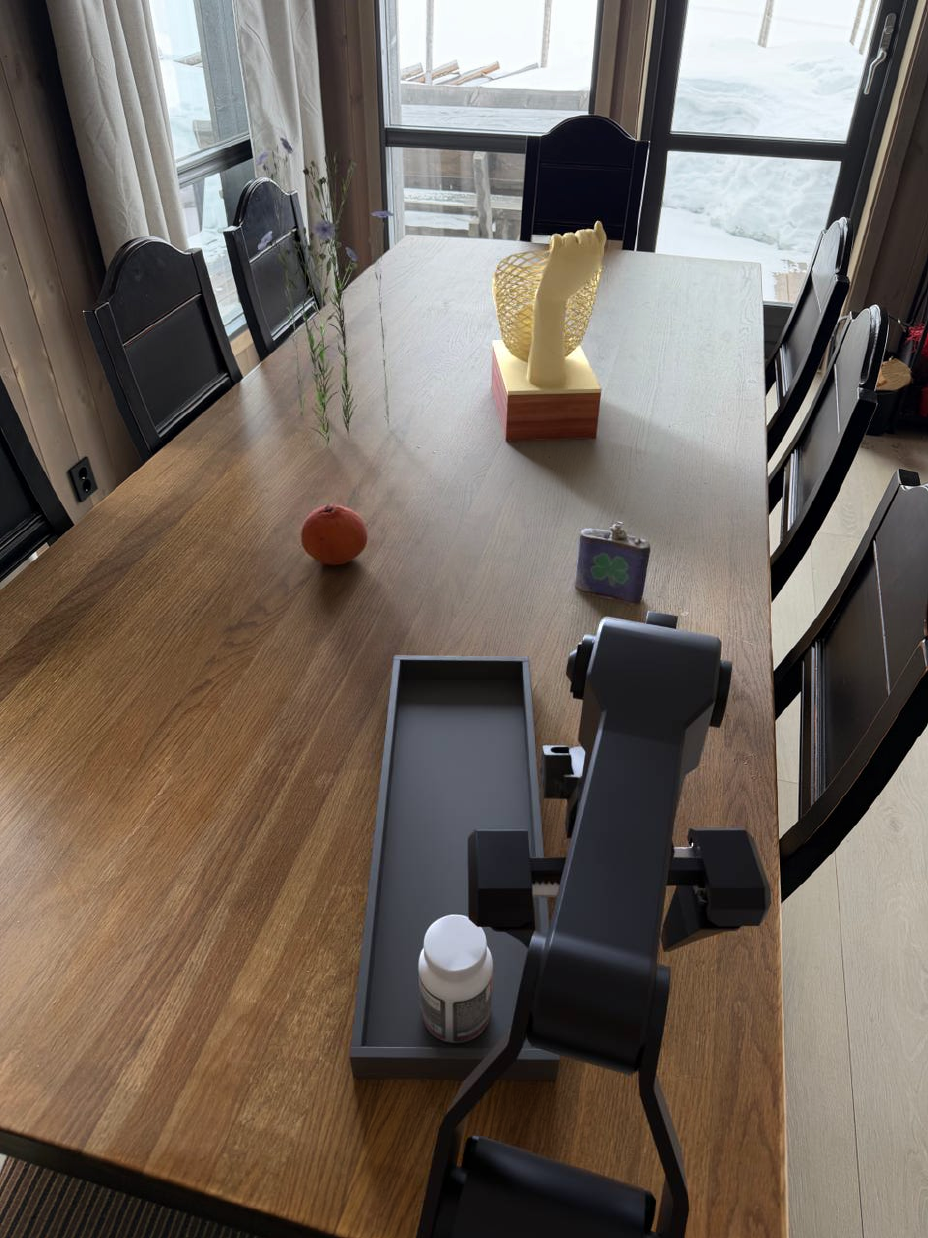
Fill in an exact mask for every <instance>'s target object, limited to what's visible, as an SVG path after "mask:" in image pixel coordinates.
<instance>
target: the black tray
mask: <svg viewBox="0 0 928 1238" xmlns="http://www.w3.org/2000/svg"><path fill="white" fill-rule="evenodd" d="M392 661H393V662H392V668H391V670H392V671H391V680H390V686H389V687H390V688H389V697H388V705H387V716H386V725H385V733H384V741H383V742H384V743H383V752H382V761H381V769H380V777H379V787H378V796H377V804H376V805H377V806H376V813H375V824H374V832H373V841H372V852H371V860H370V869H369V878H368V887H367V894H366V895H367V896H366V905H365V913H364V923H363V933H362V941H361V950H360V958H359V959H360V960H359V967H358V968H359V969H358V975H357V976H358V978H357V987H356V996H355V997H356V998H355V1004H354V1005H355V1006H354V1011H353V1012H354V1013H353V1014H354V1015H353V1021H352V1030H351V1031H352V1032H351V1040H350V1050H349V1062H350V1069H351V1075H352V1076H351V1077H352V1079H355V1080H358V1079H359V1080H360V1079H363V1080H365V1079H366V1080H429V1081H430V1080H433V1081H434V1080H435V1081H437V1080H438V1081H439V1080H440V1081H441V1080H443V1081H452V1080H453V1081H465V1080H466V1078H467V1077H468V1076H469V1075H470V1074H471V1073H472V1072H473V1071H474V1069H475V1068H476V1067H477V1066H478V1065H479V1064H480V1063H481V1061H482V1060H483V1059H484V1058H485V1057H486V1056H487V1055H488V1054H489V1052H490V1051H491V1050H492V1049H493V1048H494V1047H495V1046H496V1045H497V1043H498V1042H499V1041H500V1040H501V1039H502V1038H503V1037H504V1036H505V1034H506V1033H507V1032H508V1031H509V1030H510V1029H511V1027H512V1022H513V1017H514V1012H515V1007H516V1002H517V997H518V992H519V987H520V983H521V978H522V973H523V969H524V965H525V961H526V957H527V953H528V948H527V947H526V946H525V945H524V944H523V943H522V942H521V941H519V940H518V939H516V938H514V937H513V936H511V935H509V934H508V933H506V932H496V931H493V930H492V929H491V928H490V927H481V928H482V929H483V931H484V933H485V936H486V941H487V947H488V948H489V950H490V953H491V956H492V960H493V983H492V1009H491V1015H490V1019H489V1022H488V1024H487V1025H486V1027H485V1029H484V1030H483V1031H482V1032H481V1033H480V1034H479V1035H478V1036H476V1037H475V1038H473V1039H471V1040H469V1041H466V1042H462V1043H450V1042H446V1041H443V1040H441V1039H439V1038H437V1037H436V1036H434V1035H433V1034H432V1033H431V1032H430V1031H429V1030H428V1028H427V1027H426V1025H425V1023H424V1021H423V1018H422V1014H421V1004H420V987H419V972H418V967H419V957H420V954H421V951H422V949H423V947H424V938H425V935H426V932H427V931H428V929H429V927H430V926H431V925H432V924H433V923H434V922H435V921H437V920H438V919H440V918H442V917H445V916H449V915H462V916H466V917H468V856H467V849H468V836H469V835H470V834H471V833H472V832H473V831H474V830H475V829H476V828H527V830H528V840H529V852H530V857H545V847H544V846H545V845H544V834H543V832H544V831H543V821H542V819H543V818H542V808H541V793H540V782H539V780H540V779H539V770H538V769H539V768H538V754H537V742H536V741H537V740H536V730H535V717H534V705H533V702H534V701H533V690H532V689H533V688H532V678H531V665H530V664H531V663H530V657H529V656H488V655H487V656H486V655H483V656H482V655H481V656H479V655H478V656H476V655H465V656H464V655H408V654H407V655H399V654H395V655H393V660H392ZM534 901H535V909H536V917H537V927H538V932H541V933H544V934H548V930H549V926H550V922H551V921H550V909H549V897H534ZM560 1063H561V1055H559V1054H555V1053H552V1052H548V1051H545V1050H542V1049H538V1048H535V1047H532V1046H530V1044H529V1042H528V1040H527V1038H526V1040H525V1043H524V1045H523V1047H522V1049H521V1052H520V1054H519V1056H518V1058H517V1059H516V1060H515V1061H514V1062H513V1063H512V1065H511V1066H510V1067H509V1068H508V1069H507V1070H506V1071H505V1073H504V1074H503V1075H502V1076H501V1077H500V1078H499V1079H498V1080H497V1081H506V1082H507V1081H510V1082H512V1081H513V1082H516V1081H517V1082H518V1081H519V1082H557V1080H558V1076H559V1068H560Z"/></svg>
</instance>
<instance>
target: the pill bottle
mask: <svg viewBox="0 0 928 1238" xmlns="http://www.w3.org/2000/svg"><path fill="white" fill-rule="evenodd" d="M418 972H419V987H420V1004H421V1014H422V1018H423V1021H424V1023H425V1025H426V1027H427V1028H428V1030H429V1031H430V1032H431V1033H432V1034H433V1035H434V1036H436V1037H437V1038H439V1039H441V1040H443V1041H446V1042H450V1043H462V1042H466V1041H469V1040H471V1039H473V1038H475V1037H476V1036H478V1035H479V1034H480V1033H481V1032H482V1031H483V1030H484V1029H485V1027H486V1025H487V1024H488V1022H489V1019H490V1015H491V1009H492V983H493V960H492V956H491V953H490V950H489V948H488V947H487V941H486V936H485V933H484V931H483V929H482V928H481V927H477V926H476V925H475V924H473V923H472V922H471V921H470V920H469V919H468V917H466V916H462V915H449V916H445V917H442V918H440V919H438V920H437V921H435V922H434V923H433V924H432V925H431V926H430V927H429V929H428V931H427V932H426V935H425V938H424V947H423V949H422V951H421V954H420V957H419V967H418Z"/></svg>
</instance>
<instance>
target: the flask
mask: <svg viewBox="0 0 928 1238" xmlns="http://www.w3.org/2000/svg"><path fill="white" fill-rule="evenodd" d="M623 526H624V522H621V521H617V522H616V521H613V525H612V526H610V527H609V530H603V529H596V528H584V529H582V530H581V531H580V533H579V538H578V540H579V541H578V544H579V545H578V551H577V558H576V559H577V560H576V565H575V569H576V570H575V575H574V577H575V578H574V590H575V591H578V592H580V593H582V594H584V595H592V596H594V597H595V596H596V597H598V598H601V599H612V600H613V601H618V602H619V601H620V602H622V603H624V604H629V605H631V606H635V605H641V602H642V600H643V596H644V591H645V586H646V578H647V573H648V566H649V561H650V555H651V545H650V543H649V541H648V540H645V539H642V538H640V537H639V536H635V535H629V534H628V533H627V531H625V530H624V529H622V527H623Z"/></svg>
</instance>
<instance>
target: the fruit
mask: <svg viewBox="0 0 928 1238" xmlns="http://www.w3.org/2000/svg"><path fill="white" fill-rule="evenodd" d="M368 537H369V535H368V530H367V526H366V524H365V521H364V520H363V518H362V517H361V515H360V514H359V513H357V512H355V511H354V510H353V509H350V508H348V507H346V506H343V505H338V504H333V503H330V504H326V505H322V506H320V507H318V508H315V509H314V510H312V512H310V514H308V516H307V517H306V518H305V519H304V520H303V523H302V525H301V530H300V542H301V545H302V548H303V549H304V551H305V552H306V554H307V555H308V556H310V557H311V558H312V559H314V560H315V561H316V562H319V563H322V564H326V565H332V566H333V565H335V566H337V565H343V564H346V563H349V562H351V561H353V560H354V559H356V558H357V557H358V556H360V554H362V552H363V551H364V550H365V549H366V546H367V544H368Z"/></svg>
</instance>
